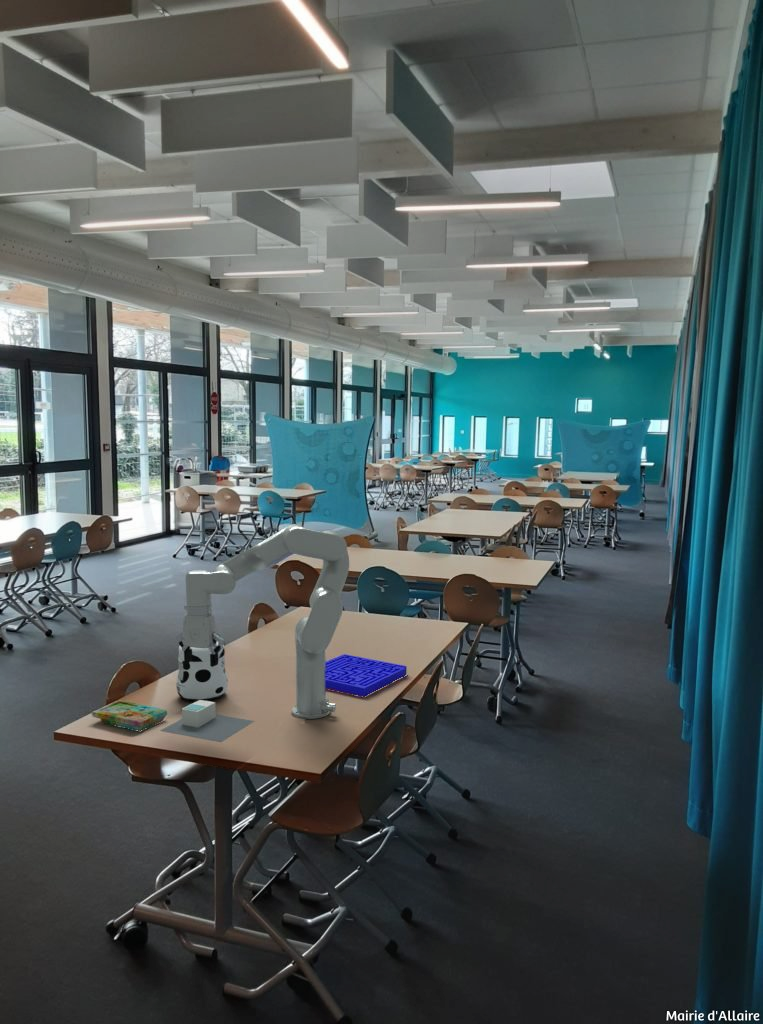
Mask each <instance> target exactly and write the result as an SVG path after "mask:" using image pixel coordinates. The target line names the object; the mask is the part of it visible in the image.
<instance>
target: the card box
mask: <svg viewBox="0 0 763 1024" xmlns="http://www.w3.org/2000/svg"><path fill="white" fill-rule="evenodd" d="M216 712H217V711H216V702H214V701H210V700H205V701H204V700H198V701H194V702H193V703H190V704H188V705H187V706H184V707H182V708H181V719H182V725H187V726H192V727H200V726H202V725H203V724H205V723H207V722H209V721H211V720H212V719H214V718H216V714H217V713H216Z"/></svg>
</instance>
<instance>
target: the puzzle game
mask: <svg viewBox="0 0 763 1024" xmlns="http://www.w3.org/2000/svg"><path fill="white" fill-rule="evenodd" d="M167 715H168V710H166V709H165V708H160V707H154V706H151V705H145V704H141V703H140V704H139V703H134V702H130V701H125V700H118V701H115V702H112V703H111V704H108V705H105V706H103V707H100V708H98V709H95V710H94V711H91V716H92V717H93V718H96V719H100V720H101V723H103V724H104V723H106V724H105V725H108V724H111V725H110V726H112V725H116V726H121V727H125V728H129V729H133V730H138V731H141V730H143V729H145V728H148V727H150V726H152V725H154V726H156V725H158V724H160V723H159V722H161V721H162V722H163V721H164V719H165V718H166V717H167ZM162 722H161V723H162ZM157 723H158V724H157ZM155 724H156V725H155ZM116 726H115V727H116ZM121 727H120V728H121ZM152 727H153V726H152ZM125 728H124V729H125ZM150 728H151V727H150ZM129 729H128V730H129ZM148 729H149V728H148ZM133 730H132V731H133ZM138 731H137V732H138ZM141 732H142V731H141Z"/></svg>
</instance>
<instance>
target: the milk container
mask: <svg viewBox="0 0 763 1024" xmlns="http://www.w3.org/2000/svg"><path fill="white" fill-rule="evenodd" d="M216 645H217V646H218V642H217V643H216ZM190 649H192V661H191V662H189V663H187V664H186V663H185V662H184V651H183V650H182V647H181V646H180V645H179V646H178V658H177V659H178V662H177V663H178V673H177V677H176V682H175V683H176V684H175V686H176V691H177V694H178V696H179V697H180V698H182V699H183V700H187V701H190V702H191V701H192V702H193V701H194V702H196V701H198V700H204V701H210V700H214V699H218V698H219V697H222V696H223V695H224V694H225V693H226V692H227V689H228V684H229V683H228V682H229V681H228V679H229V678H228V674H227V672H226V662H225V661H226V660H225V659H226V656H225V654H226V653H225V652H226V651H225V650H226V649H225V644H224V645H223V648H222V649H221V650H220V652H218V665H216V666H214V667H211V666H210V654H212V653H211V652H210V650H209V649H208V648H195V647H190Z"/></svg>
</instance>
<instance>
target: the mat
mask: <svg viewBox="0 0 763 1024" xmlns="http://www.w3.org/2000/svg"><path fill="white" fill-rule="evenodd" d="M254 722H255V720H252V719H251V720H250V719H245V718H240V717H233V716H227V715H223V714H217V713H216V718H214V719H212V720H211V721H209V722H207V723H205V724H203V725H202V726H200V727H192V726H187V725H182V718H180V719H179V720H177V721H175V722H173V723H172V724H170V725H168V726H166V727H164V728H162V729H160V731H161V732H165V733H171V734H174V735H175V734H176V735H181V736H187V737H191V738H196V739H201V740H207V741H212V742H219V743H222V742H224V741H226V740H227V739H229V738H230V737H231V736H232V737H233V735H234V734H236V733H238V732H239V731H241V730H243V729H245V728H246V727H248V726H249V725H251V724H252V723H254Z"/></svg>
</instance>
